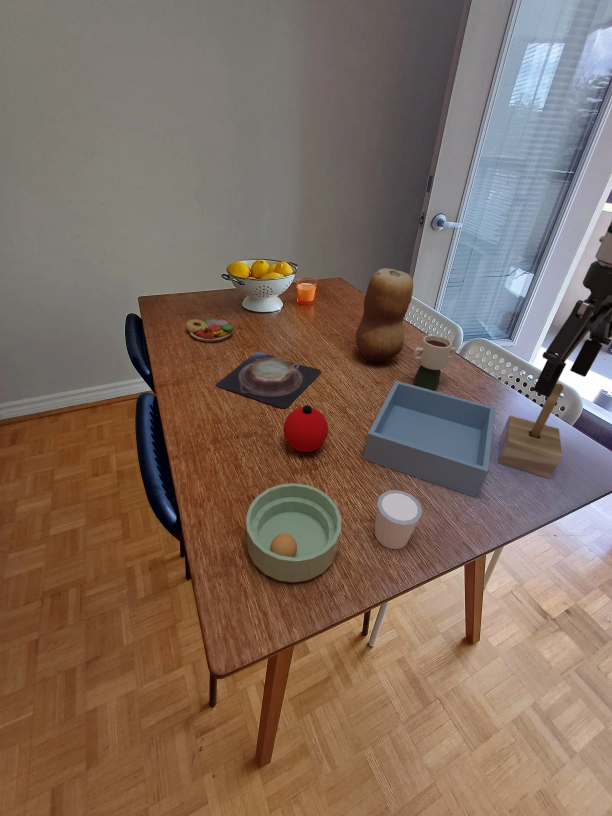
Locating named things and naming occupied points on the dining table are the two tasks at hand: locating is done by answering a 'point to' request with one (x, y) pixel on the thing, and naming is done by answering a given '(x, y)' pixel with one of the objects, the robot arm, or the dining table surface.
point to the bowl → (293, 531)
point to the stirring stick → (546, 411)
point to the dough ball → (284, 545)
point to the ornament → (305, 429)
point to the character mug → (432, 360)
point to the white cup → (396, 518)
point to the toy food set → (209, 329)
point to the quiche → (269, 379)
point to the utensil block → (529, 447)
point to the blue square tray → (433, 437)
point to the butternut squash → (384, 315)
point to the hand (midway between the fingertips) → (560, 382)
